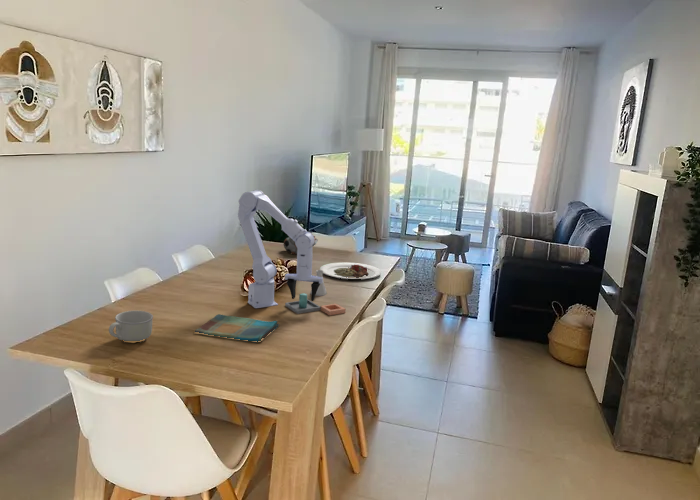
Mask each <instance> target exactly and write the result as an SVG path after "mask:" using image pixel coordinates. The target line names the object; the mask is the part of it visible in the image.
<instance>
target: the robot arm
mask: <svg viewBox="0 0 700 500" xmlns="http://www.w3.org/2000/svg"><path fill="white" fill-rule="evenodd" d="M257 211H264V212H266V213H268V215H269V216H271V217H272V218H273V219H274V220H275V221H276V222H278V223H279V224H280V225H281V231H282V232H284V233H285V234H286V235H287V236H288V237H290V238H291V239H292V240H293V241H295V244H296V247H297V248H298V250H297V254H296V273H286V274H285V275H284V280H286V285H287V287H288V290H289V291H290V295H291V300H294V299H296V296H297V295H296V290H297V289H296V287H297V281H300V282H309V283H311V284H310V288H311V290H312V294H311V296H310V297H311V298H310V301H312V302H314V301H315V299H316V292H317V290H318V287H319V285H320V284H322V283H323V281H324V277H317V275H312V274H313V273H312V272H313V247H311V246H312V245H313V244H314V242H315V239H314V236H315V235H313V234H312V232H310V231H307V229H306V228H305V229H304V228H303V227H302V226H301V225H300V224H299V223H298V222H299V221H298V220H297V219H293V218H288V217H287V215H285V214H284V213H283V212H282V211H281V210H280V208H278V206H276V205H275V203H274V202H273V201H272V200H271V199H270V198H269V196H268V195H266V194H264V191H262V190H260V189H255V190H251V191H246V192H244V193H242V194H241V196H240V198H239V199H238V212H237V218H238V220H239V223H240V226H241V229H242V231H243V235H244V237H245V240H246V243H247V246H248V249H249V252H250V254H251V257H252V266H251V268H252V270H253V271H252V278H253V279H254V282H252V283H249V285H248V295H247V297H248V301H247V303H248V304H249V305H250V306H252V307H253V308H254V309H262V308H268V307H272V306H273V307H274V306H278V305H279V303H277V302H276V301H275V279H274V277H275V276H276V275H277V271H278V270H277V267H276V265H275V264H274V263H273V262H272V259H271V257H269V256H268V255H267V252H266V250H265V246H264V244H263V241H262V238H261V235H260V233H259V230H258V226H257V223H256V221H255V218H254V216H255V214H256V213H257Z"/></svg>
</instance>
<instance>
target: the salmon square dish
mask: <svg viewBox="0 0 700 500" xmlns="http://www.w3.org/2000/svg"><path fill="white" fill-rule="evenodd" d="M319 306H320V307H321V310H320V311H321V312H323V313H325V314H327V315H328V316H334V315H341V314H346V312H347V311H346V308H345V307H343V306H341V305H339V304H338V303H330V304H325V305H319Z"/></svg>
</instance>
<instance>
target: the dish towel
mask: <svg viewBox="0 0 700 500" xmlns="http://www.w3.org/2000/svg"><path fill="white" fill-rule="evenodd" d="M279 325H280V324H279V323H278V320H274V321H273V320H272V321H267V320H266V321H265V320H259V319H256V318H255V319H254V318H247V317H240V316H239V317H238V316H235V315H234V316H233V315H225V314H216V315H215V316H214V317H212V318H210V319H209V320H208V321H207V322H205V323H204V324H202V325H201V326H199V327H198V328H196V329H195V330H194V332H199V333H204V334H208V335H214V336H220V337H227V338H234V339H240V340H248V341H257V342H258V341H261V339H262V338H265V337H266V336H267V335H268V334H269V333H270V332H272V331H273V330H274V329H275V330H277V328H279ZM275 330H274V331H275ZM274 331H273V332H274ZM273 332H272V333H273ZM267 337H268V336H267ZM267 337H266V338H267ZM266 338H265V339H266Z"/></svg>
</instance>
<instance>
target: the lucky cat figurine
mask: <svg viewBox="0 0 700 500" xmlns="http://www.w3.org/2000/svg"><path fill="white" fill-rule="evenodd" d="M313 236H314V239H315V242H314V244H313V245H312V246H311V247H312V248H314V246H316V245H317V243H318V241H319V239H317V237H316V236H315V235H313ZM283 248H284V249H285V251H286V252H289V253H290V254H291V253H292V254H291V255H297V250H298V248H297V247H296V244H295V241H293V240H292V239H291V238H290V237H289V236H288V237H286V238H285V239H284V241H283Z"/></svg>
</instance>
